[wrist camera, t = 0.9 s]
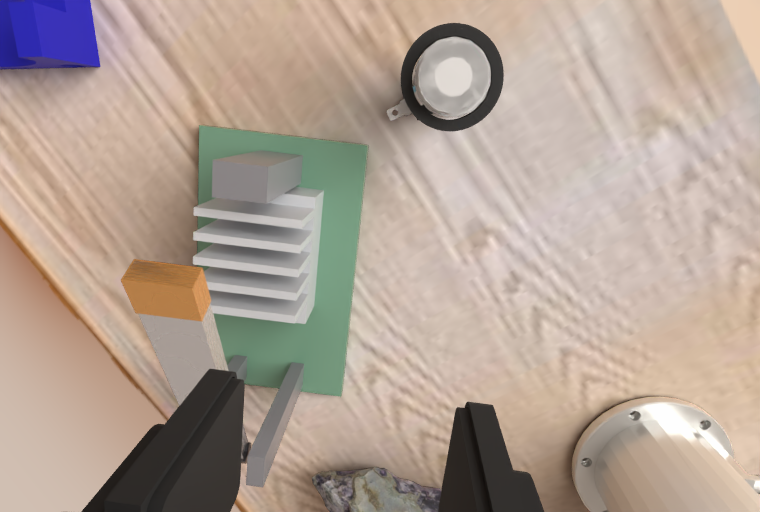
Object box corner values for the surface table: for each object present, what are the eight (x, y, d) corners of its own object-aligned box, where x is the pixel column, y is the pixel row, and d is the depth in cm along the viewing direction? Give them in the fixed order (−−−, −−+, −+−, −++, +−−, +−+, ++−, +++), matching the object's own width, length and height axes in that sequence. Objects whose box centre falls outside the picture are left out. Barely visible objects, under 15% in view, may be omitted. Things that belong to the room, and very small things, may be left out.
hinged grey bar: (204, 267, 19) (193, 290, 18) (251, 447, 31) (246, 466, 30) (133, 258, 19) (119, 281, 18) (207, 441, 31) (201, 460, 30)
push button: (404, 149, 36) (403, 160, 26) (372, 79, 35) (359, 63, 25) (490, 107, 35) (523, 102, 25) (460, 33, 34) (482, -2, 24)
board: (368, 144, 36) (349, 157, 24) (342, 390, 41) (316, 501, 29) (204, 125, 36) (103, 127, 24) (200, 371, 41) (115, 474, 29)
